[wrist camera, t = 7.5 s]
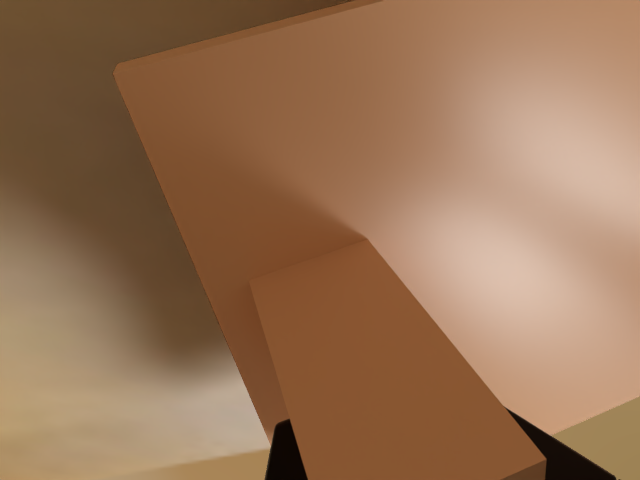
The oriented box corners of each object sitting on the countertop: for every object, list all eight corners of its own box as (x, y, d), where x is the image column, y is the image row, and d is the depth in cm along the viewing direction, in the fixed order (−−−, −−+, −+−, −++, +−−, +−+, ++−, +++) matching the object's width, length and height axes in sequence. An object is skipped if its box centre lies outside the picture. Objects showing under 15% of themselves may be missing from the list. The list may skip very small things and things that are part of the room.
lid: (625, 326, 17) (893, 523, 11) (290, 464, 15) (381, 796, 9) (704, -102, 11) (1516, -226, 4) (124, 52, 9) (26, 235, 2)
